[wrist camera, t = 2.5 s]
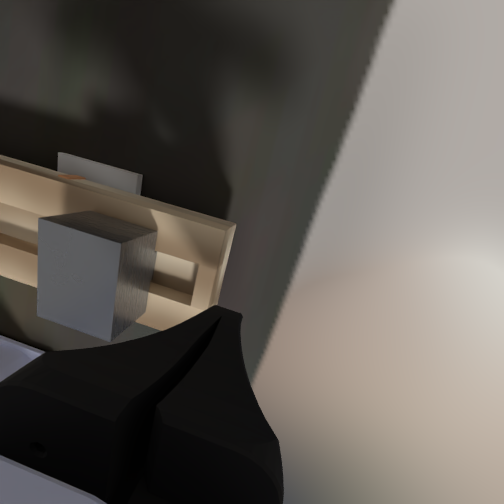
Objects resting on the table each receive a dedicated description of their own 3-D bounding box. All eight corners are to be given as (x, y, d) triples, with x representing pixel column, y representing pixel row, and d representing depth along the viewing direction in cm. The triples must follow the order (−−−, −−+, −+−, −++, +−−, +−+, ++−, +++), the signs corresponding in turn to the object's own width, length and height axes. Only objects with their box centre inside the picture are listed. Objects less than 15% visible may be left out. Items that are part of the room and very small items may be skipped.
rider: (155, 303, 17) (110, 342, 13) (97, 284, 17) (36, 315, 13) (167, 227, 15) (121, 243, 11) (104, 208, 16) (38, 217, 12)
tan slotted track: (218, 320, 20) (196, 357, 16) (-19, 241, 22) (-93, 256, 18) (247, 204, 17) (229, 212, 13) (-25, 127, 20) (-114, 113, 15)
